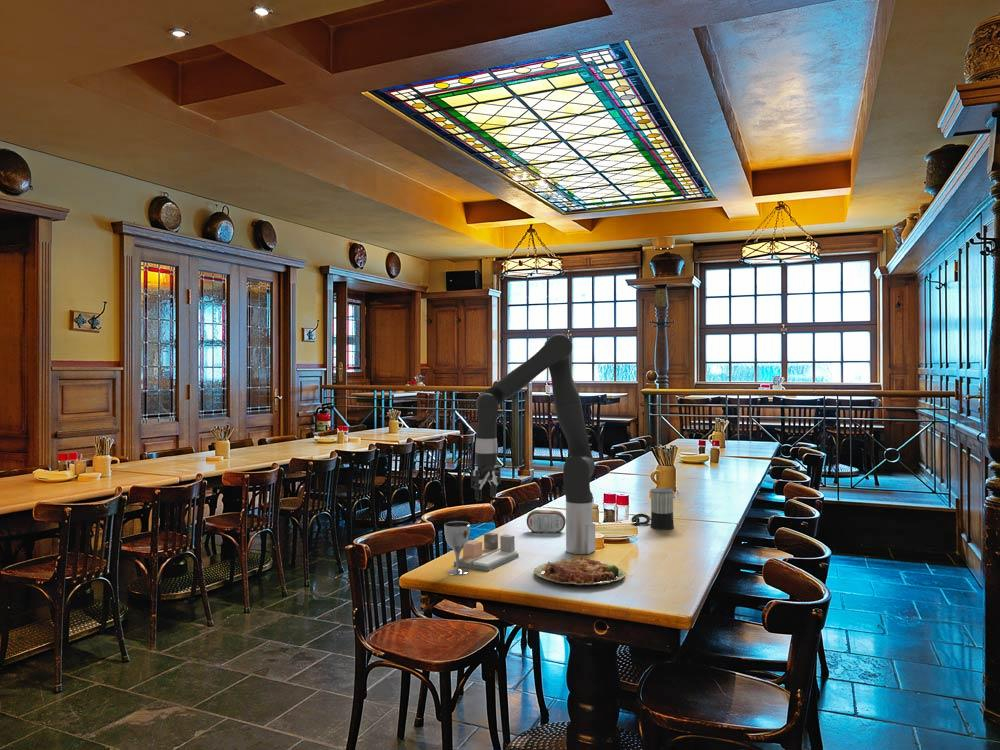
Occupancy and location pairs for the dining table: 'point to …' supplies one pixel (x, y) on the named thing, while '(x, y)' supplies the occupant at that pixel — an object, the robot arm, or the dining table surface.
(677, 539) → the dining table surface
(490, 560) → the grey strip
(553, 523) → the tin
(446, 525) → the wine glass
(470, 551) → the terracotta block
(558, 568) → the rice dish
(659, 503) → the milk frother
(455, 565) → the lane board
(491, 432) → the robot arm
